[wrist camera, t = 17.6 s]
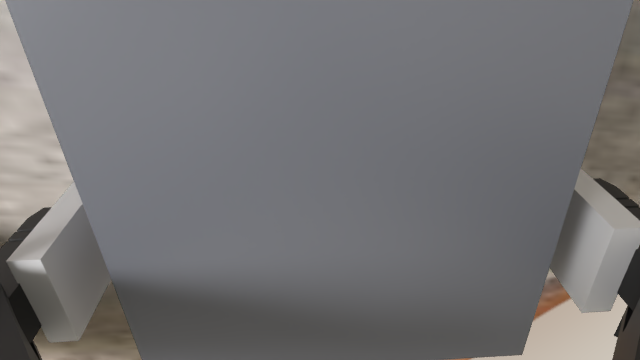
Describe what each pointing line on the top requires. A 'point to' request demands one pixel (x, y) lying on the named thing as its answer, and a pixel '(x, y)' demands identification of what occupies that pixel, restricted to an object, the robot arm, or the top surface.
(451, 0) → the grey cubic block
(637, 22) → the top surface
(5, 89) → the top surface
